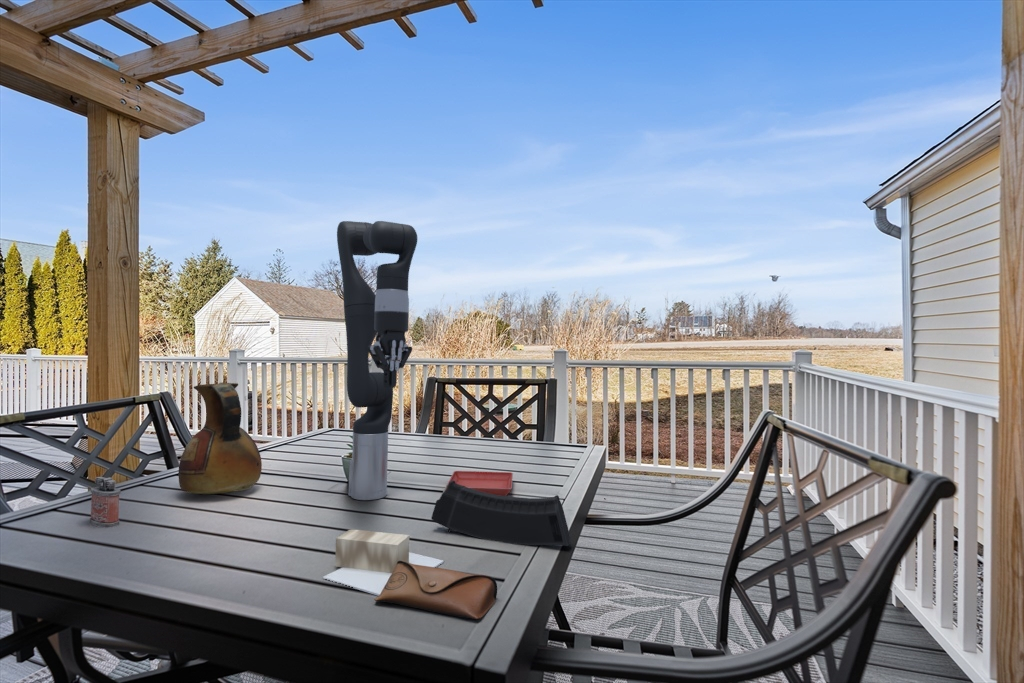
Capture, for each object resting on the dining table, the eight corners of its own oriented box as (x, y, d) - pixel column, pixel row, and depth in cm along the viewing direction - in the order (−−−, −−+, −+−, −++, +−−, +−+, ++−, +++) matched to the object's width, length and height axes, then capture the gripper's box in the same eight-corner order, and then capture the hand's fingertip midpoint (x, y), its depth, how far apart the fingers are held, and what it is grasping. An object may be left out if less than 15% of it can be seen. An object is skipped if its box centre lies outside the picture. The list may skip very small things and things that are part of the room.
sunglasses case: (370, 600, 79) (383, 554, 82) (388, 605, 85) (399, 562, 88) (481, 620, 74) (490, 571, 78) (492, 624, 80) (500, 578, 83)
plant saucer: (511, 500, 139) (512, 487, 139) (445, 498, 139) (445, 486, 139) (512, 483, 157) (512, 472, 157) (453, 481, 157) (454, 470, 157)
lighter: (123, 524, 113) (125, 478, 113) (106, 528, 110) (107, 481, 110) (102, 518, 116) (104, 474, 117) (85, 522, 113) (86, 477, 113)
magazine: (583, 504, 104) (456, 449, 114) (580, 508, 101) (450, 452, 111) (558, 581, 106) (434, 521, 115) (554, 588, 103) (427, 525, 112)
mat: (322, 578, 88) (322, 577, 88) (385, 548, 102) (385, 546, 102) (386, 598, 82) (386, 596, 82) (444, 562, 96) (444, 560, 96)
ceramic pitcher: (239, 479, 153) (242, 379, 153) (275, 491, 141) (278, 382, 142) (164, 493, 137) (168, 381, 137) (198, 508, 125) (202, 385, 126)
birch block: (335, 538, 93) (397, 545, 90) (350, 529, 97) (409, 535, 95) (335, 566, 92) (396, 573, 90) (349, 555, 97) (408, 562, 95)
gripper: (384, 308, 108) (382, 390, 108) (423, 312, 120) (421, 386, 120) (358, 308, 112) (356, 388, 111) (397, 313, 124) (396, 385, 123)
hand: (389, 387), depth 116 cm, fingers closed
